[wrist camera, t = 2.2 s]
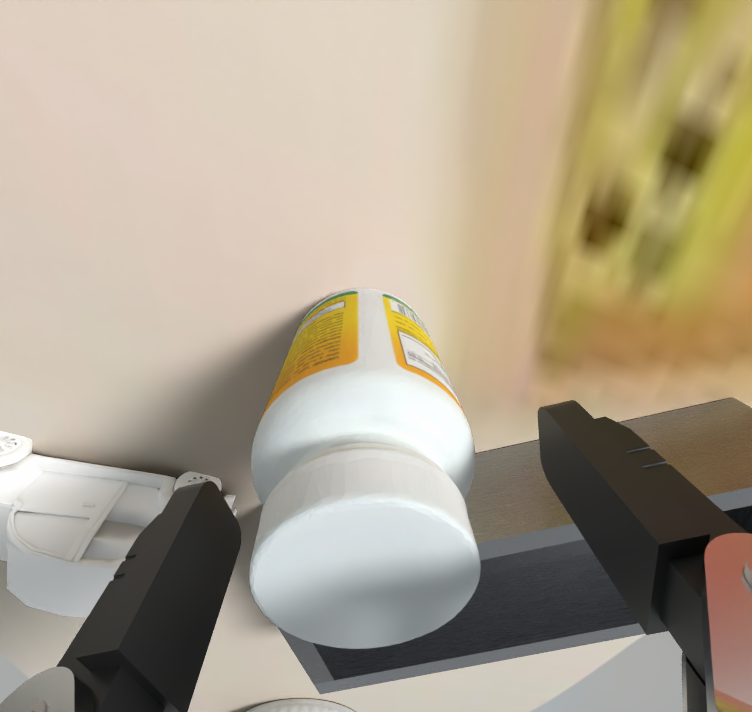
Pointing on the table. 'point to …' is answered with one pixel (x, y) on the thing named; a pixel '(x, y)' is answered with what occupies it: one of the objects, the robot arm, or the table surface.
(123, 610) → the robot arm
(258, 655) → the table surface
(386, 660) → the open rectangular box
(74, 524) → the car
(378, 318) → the supplement bottle
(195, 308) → the table surface
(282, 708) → the ramekin
